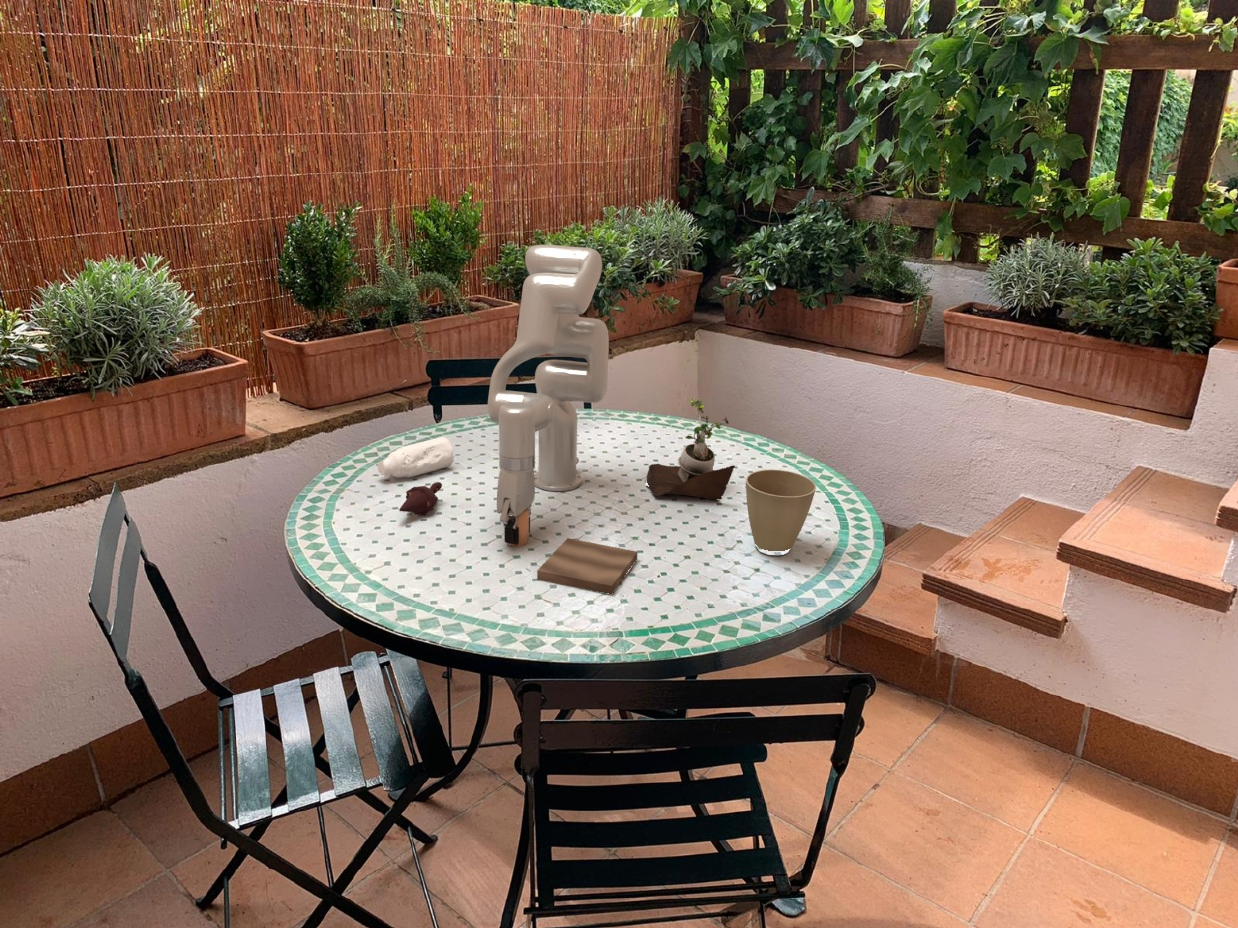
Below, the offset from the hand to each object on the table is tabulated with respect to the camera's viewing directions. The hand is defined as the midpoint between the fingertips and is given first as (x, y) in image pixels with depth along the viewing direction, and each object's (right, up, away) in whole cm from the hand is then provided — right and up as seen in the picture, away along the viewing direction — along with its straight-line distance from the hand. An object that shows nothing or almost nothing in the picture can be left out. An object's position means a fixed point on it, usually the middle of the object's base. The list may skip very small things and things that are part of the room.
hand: (517, 537), depth 202 cm
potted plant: (+39, +10, +32) cm, 51 cm away
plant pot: (+56, -3, +1) cm, 56 cm away
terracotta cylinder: (0, -1, 0) cm, 1 cm away
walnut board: (+16, -6, -11) cm, 20 cm away
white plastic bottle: (-29, +13, +33) cm, 46 cm away
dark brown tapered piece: (-24, +4, +12) cm, 27 cm away
